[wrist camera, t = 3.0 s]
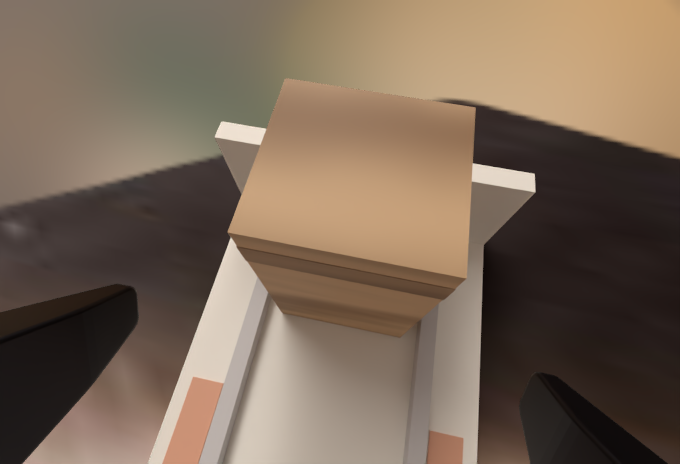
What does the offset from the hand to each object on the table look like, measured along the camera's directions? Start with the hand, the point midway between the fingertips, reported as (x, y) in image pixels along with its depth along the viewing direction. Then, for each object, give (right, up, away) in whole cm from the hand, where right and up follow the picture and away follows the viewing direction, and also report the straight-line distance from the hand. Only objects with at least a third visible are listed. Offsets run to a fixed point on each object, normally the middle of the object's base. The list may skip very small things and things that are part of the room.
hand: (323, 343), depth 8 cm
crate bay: (0, -4, +11) cm, 12 cm away
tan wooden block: (+1, 0, +12) cm, 12 cm away
